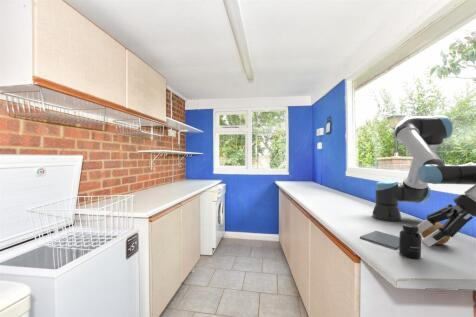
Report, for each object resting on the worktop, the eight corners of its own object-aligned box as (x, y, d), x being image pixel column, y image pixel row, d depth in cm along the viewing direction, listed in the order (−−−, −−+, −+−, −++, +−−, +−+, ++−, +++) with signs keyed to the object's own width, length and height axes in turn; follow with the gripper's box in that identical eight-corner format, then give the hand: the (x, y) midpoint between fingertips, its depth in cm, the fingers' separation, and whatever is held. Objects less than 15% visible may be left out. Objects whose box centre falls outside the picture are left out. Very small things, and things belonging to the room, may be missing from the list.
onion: (438, 249, 91) (438, 225, 91) (414, 240, 101) (415, 218, 101) (456, 247, 93) (456, 224, 93) (431, 238, 103) (431, 217, 103)
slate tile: (376, 232, 112) (376, 230, 112) (411, 241, 99) (411, 240, 99) (359, 238, 104) (359, 236, 104) (395, 249, 91) (395, 247, 91)
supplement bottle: (414, 261, 81) (414, 229, 81) (395, 253, 88) (395, 223, 88) (425, 257, 84) (425, 226, 84) (405, 250, 90) (405, 221, 90)
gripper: (507, 219, 64) (440, 259, 71) (467, 203, 86) (419, 234, 93) (482, 199, 67) (420, 240, 74) (449, 188, 89) (404, 220, 96)
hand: (419, 237), depth 84 cm, fingers open, 13 cm apart
